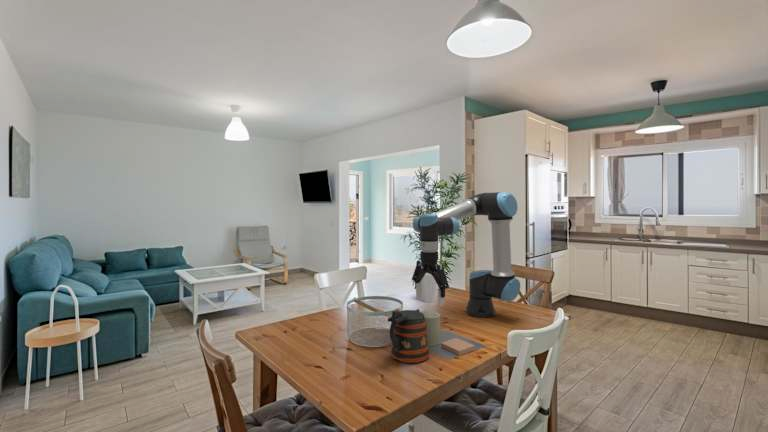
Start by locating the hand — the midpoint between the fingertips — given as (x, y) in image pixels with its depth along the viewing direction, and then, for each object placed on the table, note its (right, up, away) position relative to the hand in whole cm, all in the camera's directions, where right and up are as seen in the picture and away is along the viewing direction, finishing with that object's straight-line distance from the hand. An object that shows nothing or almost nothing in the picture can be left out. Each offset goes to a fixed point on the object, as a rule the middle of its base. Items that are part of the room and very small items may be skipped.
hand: (429, 301), depth 151 cm
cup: (+8, -16, +67) cm, 70 cm away
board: (+7, -18, -2) cm, 20 cm away
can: (0, -17, 0) cm, 17 cm away
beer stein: (-10, -19, -13) cm, 25 cm away
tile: (+14, -16, -4) cm, 22 cm away
